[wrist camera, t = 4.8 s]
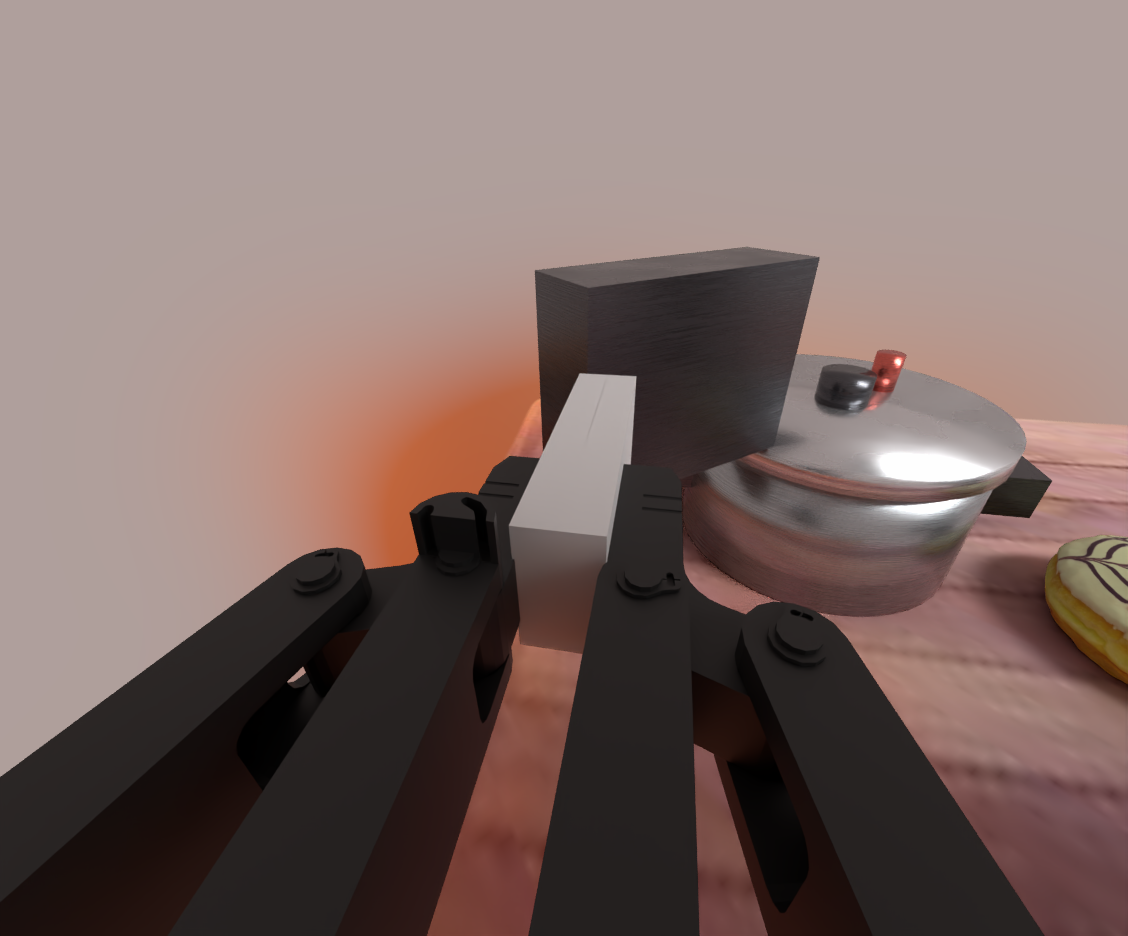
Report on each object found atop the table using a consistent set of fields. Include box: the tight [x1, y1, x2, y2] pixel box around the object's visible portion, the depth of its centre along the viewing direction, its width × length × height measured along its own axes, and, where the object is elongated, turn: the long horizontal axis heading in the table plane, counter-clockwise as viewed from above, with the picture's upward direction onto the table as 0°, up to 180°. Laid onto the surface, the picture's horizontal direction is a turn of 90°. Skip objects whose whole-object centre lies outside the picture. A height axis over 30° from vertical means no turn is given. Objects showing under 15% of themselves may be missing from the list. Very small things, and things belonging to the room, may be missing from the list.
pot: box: [680, 456, 1052, 616], centre depth 29 cm, size 26×15×7 cm, turn 79°
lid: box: [535, 247, 1027, 502], centre depth 22 cm, size 25×16×9 cm, turn 119°
